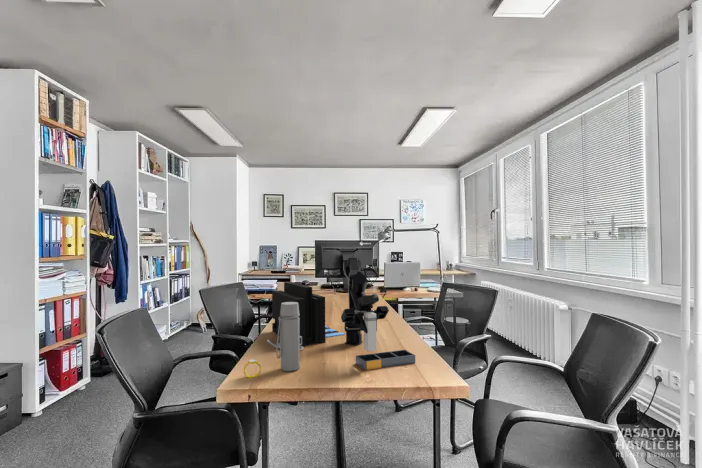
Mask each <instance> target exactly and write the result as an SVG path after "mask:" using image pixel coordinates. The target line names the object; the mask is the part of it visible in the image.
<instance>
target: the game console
mask: <svg viewBox="0 0 702 468" xmlns="http://www.w3.org/2000/svg"><path fill="white" fill-rule="evenodd" d="M271 292H272V293H271V302H272V303H271V306H272V307H271V310H272V311H271V312H272V313H271V315H272V316H271V318H272V319H273V320H274V322H272V323H271V326H272V327H271V328H272V331H271V332H272V333H273V332H274V334H275V333H276V334H275V335H277V336H278V329H279V337H280V328H279V319H278V317H280V316H281V315H280V311H281V303H284V302H298V305H299V314H300V316H298V317H299V318H300V336H301V337H302V345H300V346H302V347H306V346H310V345H318V344H325V343H326V338H327V339H329V338H335V337H340V336H341V335H342V336H344V335H345V336H346V332H339V330H336V329H333V328H331V327H329V325H328V326H327V325H326V297H325V296H322V295H319V294H316V293H313V286H308V285H304V284H300V283H297V282H293V281H285V282H284V281H283V290H272V291H271ZM280 318H282V317H280ZM280 327H281V322H280ZM327 327H328V328H327ZM338 332H339V333H338ZM334 336H335V337H334ZM325 337H326V338H325ZM328 337H329V338H328ZM300 344H301V338H300Z"/></svg>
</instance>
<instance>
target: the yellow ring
mask: <svg viewBox="0 0 702 468" xmlns="http://www.w3.org/2000/svg"><path fill="white" fill-rule="evenodd" d="M249 364H256V365H257V366H259V370H258V372H257V373H256V374H253V375H248V374H247V373H246V371H245V370H246V367H248V365H249ZM261 372H262V370H261V364H260V363H259V361H257V360H256V359H249V360H248V362H246V363H245V364H244V365H243V374H244V376H245V377H246V378H250V379H251V378H257V377H258V376H259V375H260V374H261Z"/></svg>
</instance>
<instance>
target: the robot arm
mask: <svg viewBox="0 0 702 468" xmlns="http://www.w3.org/2000/svg"><path fill="white" fill-rule="evenodd" d="M342 267H343V269H342V270H343V272H344V276H345V278H346V280H347V287H348V308H344V309H343V312H342V313H341V317H340V319H341V322H342V323H343V324H344V325H343V329H344V332H345V339H346V340H345V342H344V345H351V346H359V345H360V344H363V341H362V337H363V335H362V332H363V333H364V332H365V333H367V332H368V331H367V327H366V325H365V322H364V313H366V312H373V313H376V318H377V321H376V333H378V332H377V331H378V320H384V319H385V318H386V317H387V315H388V313H389V311H390V310H389V308H388V307H389V306H387V305H378V306H377V307H376V309H373V308H374V304H375V305H376V303H378V302H379V301H380V298H379V295H378V293H372V294H367V295H366V289H367V285H368V284H369V279H368V278H367V276H366V274H364V273H365V272H363V271H361V270H362V261H361V260H360V259H359V257H356V256H355V257H348V258H347V259H345V260H344V261H343V265H342Z"/></svg>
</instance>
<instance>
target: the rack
mask: <svg viewBox="0 0 702 468" xmlns="http://www.w3.org/2000/svg"><path fill="white" fill-rule="evenodd" d="M415 363H416V354H415V353H412V352H411V351H408V350H407V349H399V350H393V351H392V350H391V351H383V352H382V351H381V352H375V353H374V352H373V353H366V354H359V355H355V365H357V366H358V367H359V368H360V369H362V370H364V371H369V370H371V371H372V370H375V369H376V370H377V369H382V368H389V367H395V366H403V365H409V364H415Z"/></svg>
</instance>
